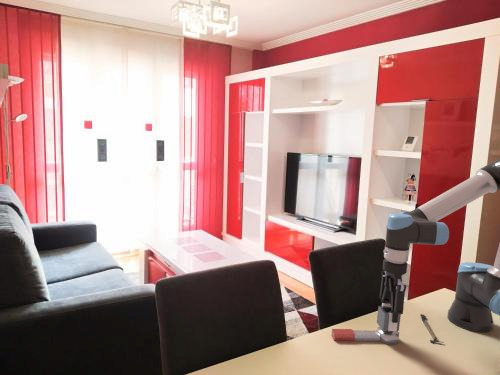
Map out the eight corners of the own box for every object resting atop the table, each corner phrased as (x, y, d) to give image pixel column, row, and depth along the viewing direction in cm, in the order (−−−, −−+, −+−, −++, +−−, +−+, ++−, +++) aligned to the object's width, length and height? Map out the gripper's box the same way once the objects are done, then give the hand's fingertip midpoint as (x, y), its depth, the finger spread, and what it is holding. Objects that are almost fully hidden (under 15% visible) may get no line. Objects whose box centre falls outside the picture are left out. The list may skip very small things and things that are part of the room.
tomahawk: (451, 349, 125) (452, 346, 125) (430, 344, 126) (431, 341, 126) (436, 319, 145) (437, 317, 145) (418, 315, 147) (418, 313, 146)
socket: (391, 322, 130) (393, 306, 129) (398, 331, 125) (400, 314, 124) (376, 322, 130) (378, 306, 129) (383, 330, 124) (385, 313, 123)
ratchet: (392, 333, 131) (395, 310, 130) (401, 344, 124) (404, 319, 123) (329, 332, 130) (331, 308, 129) (335, 343, 123) (337, 318, 122)
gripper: (373, 251, 133) (367, 312, 136) (396, 269, 115) (389, 340, 118) (394, 252, 133) (387, 313, 136) (420, 270, 115) (412, 340, 118)
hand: (388, 325), depth 127 cm, fingers closed on socket, 5 cm apart
